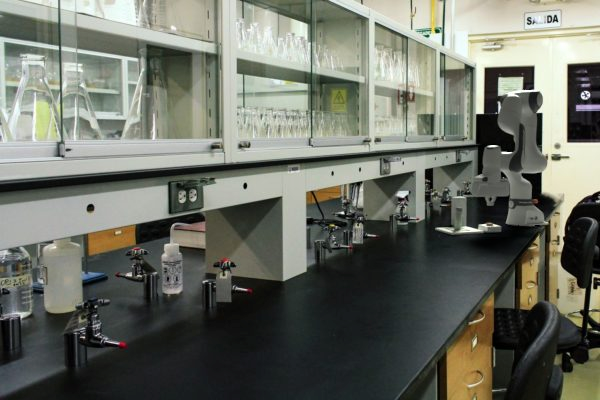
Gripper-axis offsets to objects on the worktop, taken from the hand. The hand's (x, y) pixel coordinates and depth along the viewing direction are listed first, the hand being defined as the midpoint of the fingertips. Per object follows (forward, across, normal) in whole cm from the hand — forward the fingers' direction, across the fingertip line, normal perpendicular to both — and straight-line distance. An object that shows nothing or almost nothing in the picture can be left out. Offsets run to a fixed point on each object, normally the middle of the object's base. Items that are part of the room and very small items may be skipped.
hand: (490, 205), depth 310 cm
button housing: (+13, 0, 0) cm, 13 cm away
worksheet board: (+13, +15, -4) cm, 20 cm away
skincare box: (+13, +5, -21) cm, 25 cm away
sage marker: (+12, +16, -4) cm, 20 cm away
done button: (+12, 0, 0) cm, 12 cm away
